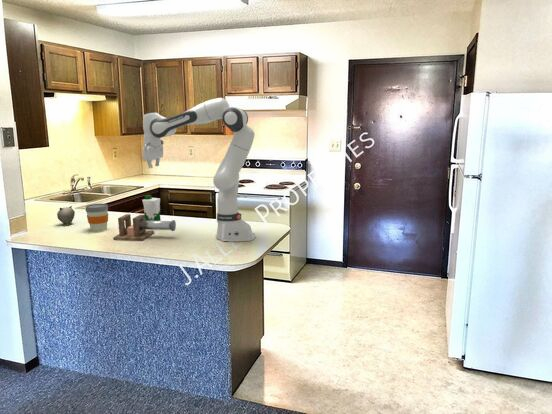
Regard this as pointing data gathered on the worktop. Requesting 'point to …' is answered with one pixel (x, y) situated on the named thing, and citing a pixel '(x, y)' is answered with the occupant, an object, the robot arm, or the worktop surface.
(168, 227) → the shaft
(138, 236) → the bearing block
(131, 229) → the spacer
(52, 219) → the worktop surface
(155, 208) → the milk carton
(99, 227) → the reusable coffee cup
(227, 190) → the robot arm
